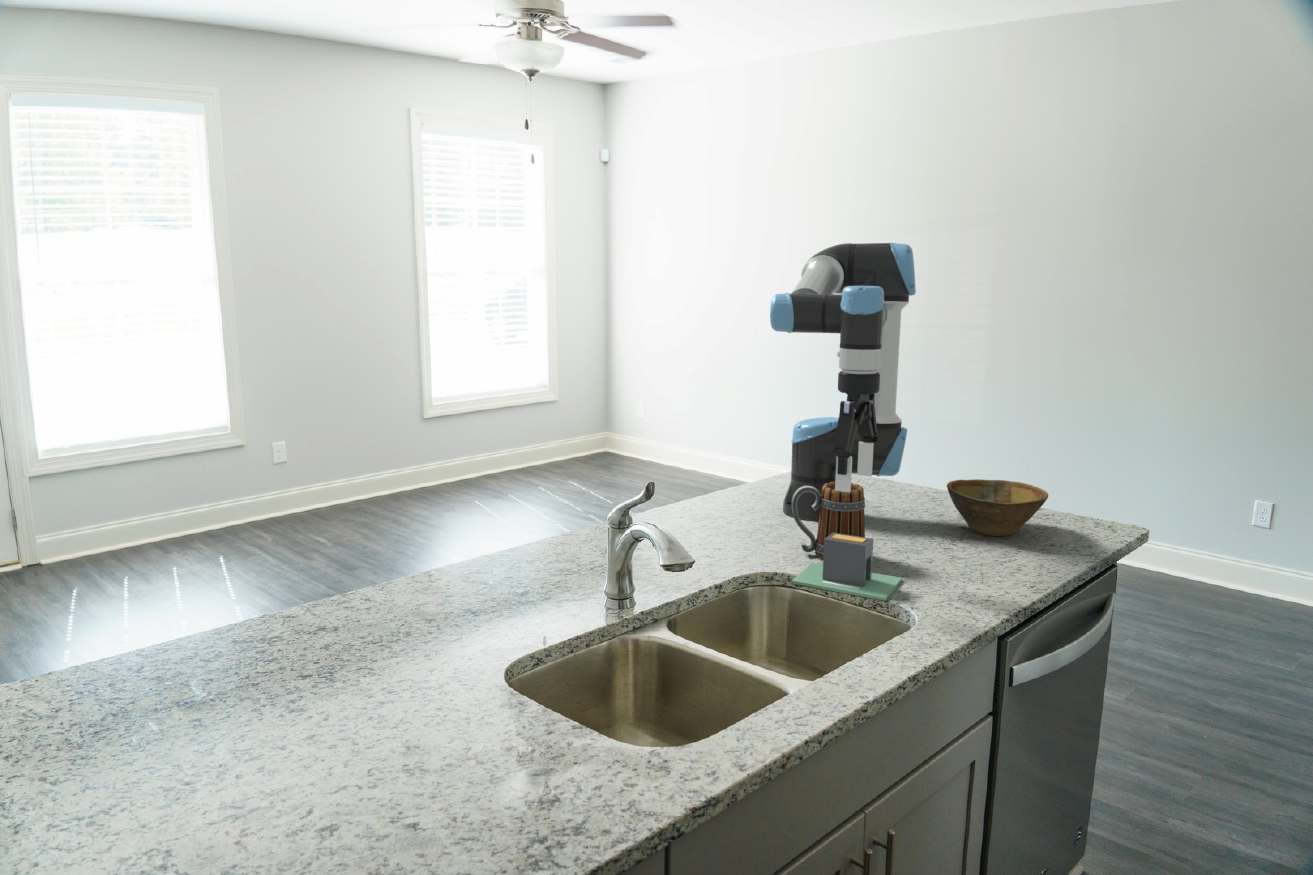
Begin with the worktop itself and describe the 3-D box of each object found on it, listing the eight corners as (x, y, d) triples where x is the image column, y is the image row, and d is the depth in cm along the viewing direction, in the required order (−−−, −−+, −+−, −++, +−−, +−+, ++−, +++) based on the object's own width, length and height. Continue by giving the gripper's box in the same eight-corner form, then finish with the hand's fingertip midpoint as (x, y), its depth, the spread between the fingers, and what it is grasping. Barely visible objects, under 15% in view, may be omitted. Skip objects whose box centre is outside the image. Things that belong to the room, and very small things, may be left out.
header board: (812, 565, 179) (813, 543, 178) (901, 580, 170) (903, 557, 169) (791, 583, 169) (792, 560, 168) (885, 600, 160) (886, 576, 159)
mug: (861, 548, 190) (864, 480, 187) (869, 564, 179) (873, 493, 177) (788, 546, 191) (790, 479, 188) (792, 562, 180) (794, 491, 178)
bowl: (1053, 526, 207) (1056, 484, 205) (1035, 552, 188) (1039, 506, 186) (957, 512, 218) (960, 472, 217) (931, 535, 199) (934, 492, 198)
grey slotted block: (831, 571, 173) (832, 531, 172) (871, 578, 170) (873, 537, 168) (822, 579, 169) (824, 538, 168) (863, 586, 165) (865, 544, 164)
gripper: (859, 362, 175) (854, 467, 179) (816, 377, 154) (812, 495, 158) (897, 365, 172) (891, 471, 176) (859, 380, 150) (853, 501, 155)
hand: (854, 483), depth 167 cm, fingers open, 13 cm apart
